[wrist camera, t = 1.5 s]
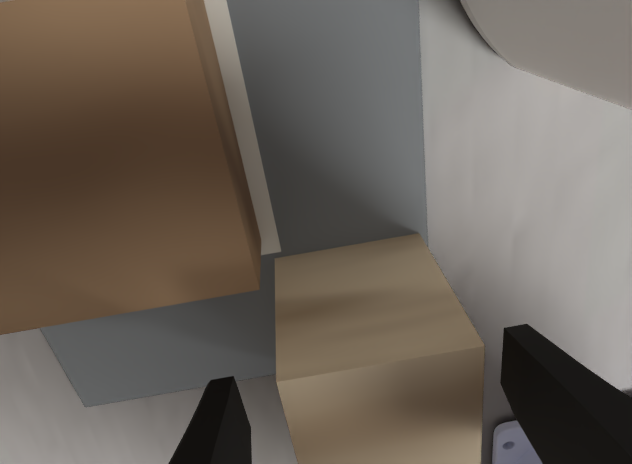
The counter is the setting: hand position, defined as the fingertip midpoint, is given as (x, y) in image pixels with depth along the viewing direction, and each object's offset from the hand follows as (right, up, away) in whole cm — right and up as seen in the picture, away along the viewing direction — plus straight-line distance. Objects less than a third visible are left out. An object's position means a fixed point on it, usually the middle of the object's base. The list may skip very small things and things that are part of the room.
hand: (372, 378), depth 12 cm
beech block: (0, +2, +3) cm, 3 cm away
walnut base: (-7, +6, 0) cm, 9 cm away
